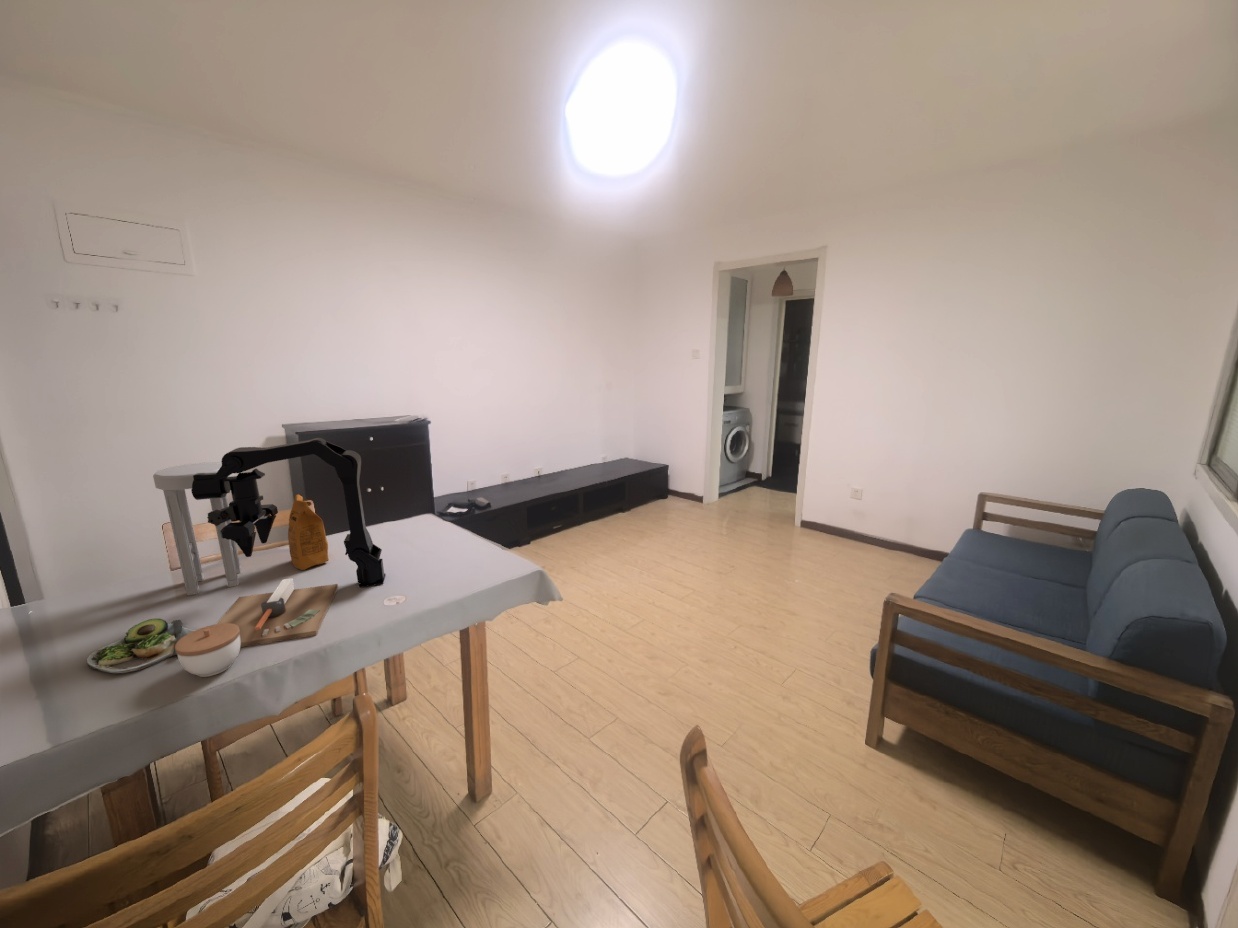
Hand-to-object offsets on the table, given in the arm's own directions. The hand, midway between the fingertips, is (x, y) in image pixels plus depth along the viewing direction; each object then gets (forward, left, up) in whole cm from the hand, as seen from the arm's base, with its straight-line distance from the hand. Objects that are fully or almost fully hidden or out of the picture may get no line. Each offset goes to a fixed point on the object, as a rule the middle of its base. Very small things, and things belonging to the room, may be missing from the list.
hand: (256, 549), depth 132 cm
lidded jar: (0, +33, -14) cm, 36 cm away
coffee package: (-6, -21, -14) cm, 27 cm away
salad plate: (+18, +20, -15) cm, 30 cm away
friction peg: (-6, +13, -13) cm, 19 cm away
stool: (+17, -14, -14) cm, 26 cm away
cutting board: (-6, +14, -14) cm, 21 cm away
